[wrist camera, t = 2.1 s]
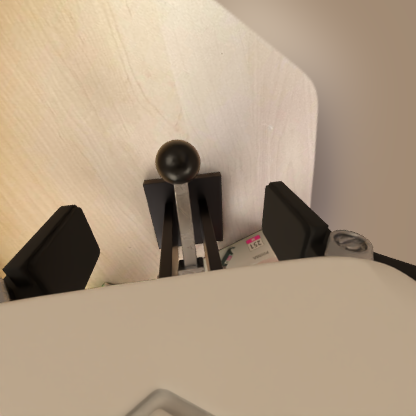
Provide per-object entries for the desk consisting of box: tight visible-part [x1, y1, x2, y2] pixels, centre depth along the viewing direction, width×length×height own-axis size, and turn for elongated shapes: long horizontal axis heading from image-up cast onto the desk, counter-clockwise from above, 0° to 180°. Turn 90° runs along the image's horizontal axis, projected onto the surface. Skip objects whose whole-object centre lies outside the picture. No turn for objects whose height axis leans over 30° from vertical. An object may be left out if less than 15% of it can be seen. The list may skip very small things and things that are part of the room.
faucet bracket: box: [143, 172, 226, 279], centre depth 22 cm, size 10×9×13 cm
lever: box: [155, 140, 205, 276], centre depth 17 cm, size 13×4×4 cm, turn 4°
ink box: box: [203, 230, 279, 272], centre depth 28 cm, size 2×11×10 cm, turn 119°
